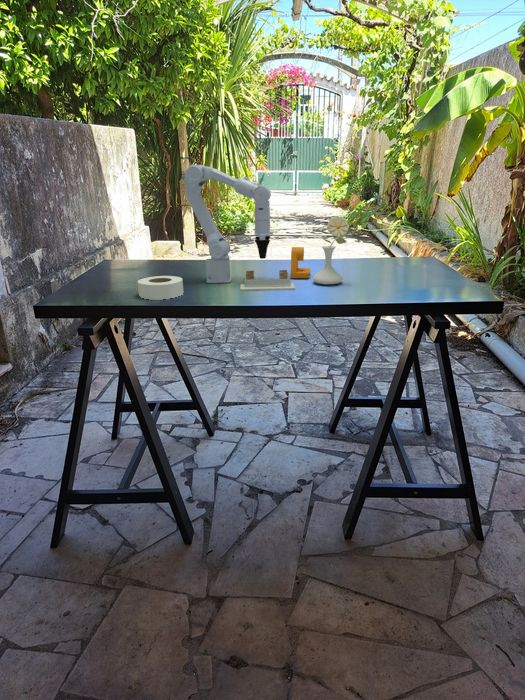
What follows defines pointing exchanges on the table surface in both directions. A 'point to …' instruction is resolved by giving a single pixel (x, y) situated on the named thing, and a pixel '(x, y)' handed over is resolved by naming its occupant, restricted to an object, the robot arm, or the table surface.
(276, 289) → the mat
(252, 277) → the post left
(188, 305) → the table surface
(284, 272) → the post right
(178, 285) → the roll of tape
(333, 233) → the flower in vase
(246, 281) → the rail
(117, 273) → the table surface
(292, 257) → the bracket
